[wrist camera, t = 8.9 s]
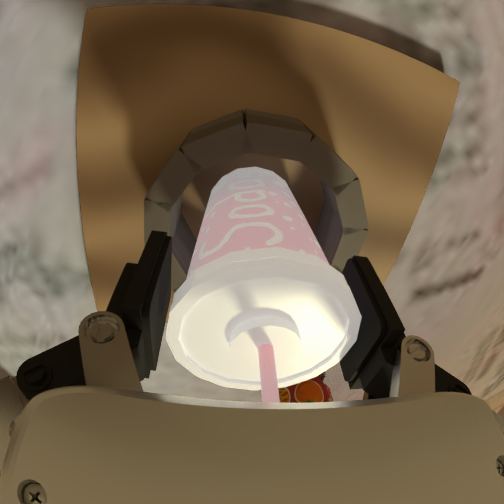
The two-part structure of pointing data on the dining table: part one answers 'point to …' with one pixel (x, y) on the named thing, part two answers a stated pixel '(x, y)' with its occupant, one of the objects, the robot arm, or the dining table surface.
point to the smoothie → (306, 392)
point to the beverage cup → (259, 292)
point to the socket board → (247, 130)
